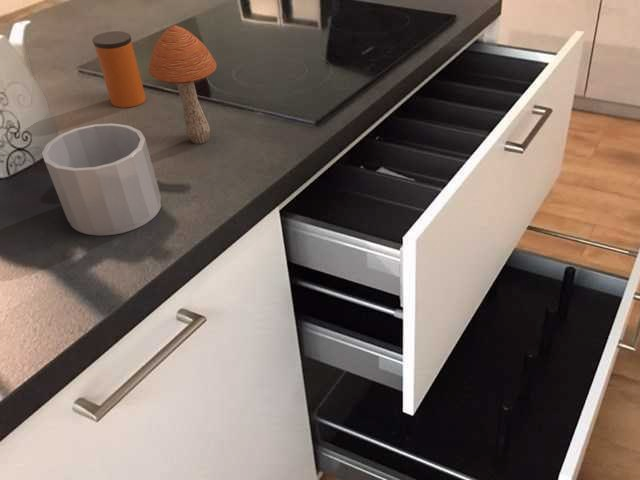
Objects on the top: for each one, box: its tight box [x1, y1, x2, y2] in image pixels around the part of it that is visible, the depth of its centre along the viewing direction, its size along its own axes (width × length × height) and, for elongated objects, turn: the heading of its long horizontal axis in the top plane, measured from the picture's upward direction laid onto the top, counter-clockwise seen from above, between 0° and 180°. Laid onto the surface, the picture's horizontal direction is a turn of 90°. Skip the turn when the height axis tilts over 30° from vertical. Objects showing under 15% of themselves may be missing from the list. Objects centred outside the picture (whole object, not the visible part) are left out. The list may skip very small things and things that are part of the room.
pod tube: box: [91, 30, 147, 109], centre depth 92 cm, size 5×5×9 cm
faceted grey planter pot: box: [41, 122, 162, 237], centre depth 71 cm, size 10×10×8 cm
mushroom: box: [148, 24, 218, 144], centre depth 81 cm, size 8×8×15 cm
